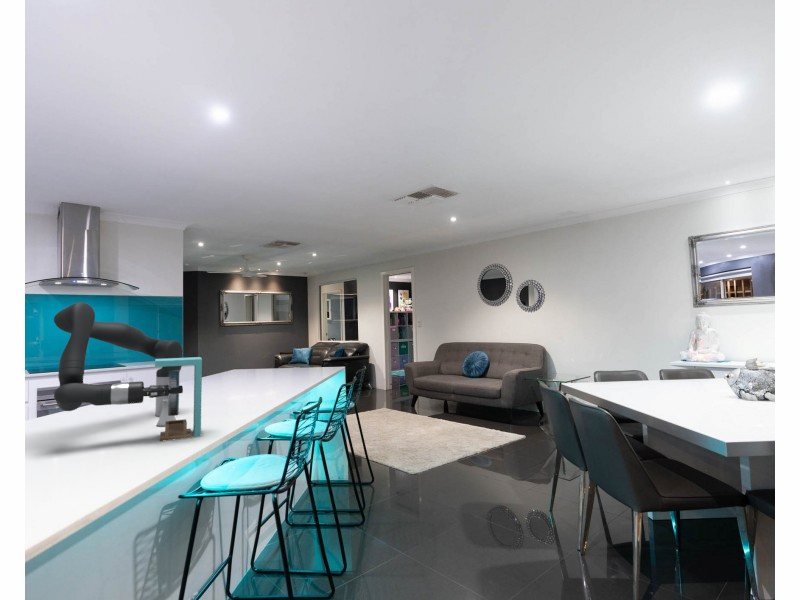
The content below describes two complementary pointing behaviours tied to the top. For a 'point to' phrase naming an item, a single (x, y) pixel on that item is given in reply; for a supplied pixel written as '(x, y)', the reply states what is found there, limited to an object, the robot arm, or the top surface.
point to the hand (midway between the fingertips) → (182, 389)
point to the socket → (175, 430)
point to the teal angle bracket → (197, 384)
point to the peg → (173, 398)
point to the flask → (165, 415)
